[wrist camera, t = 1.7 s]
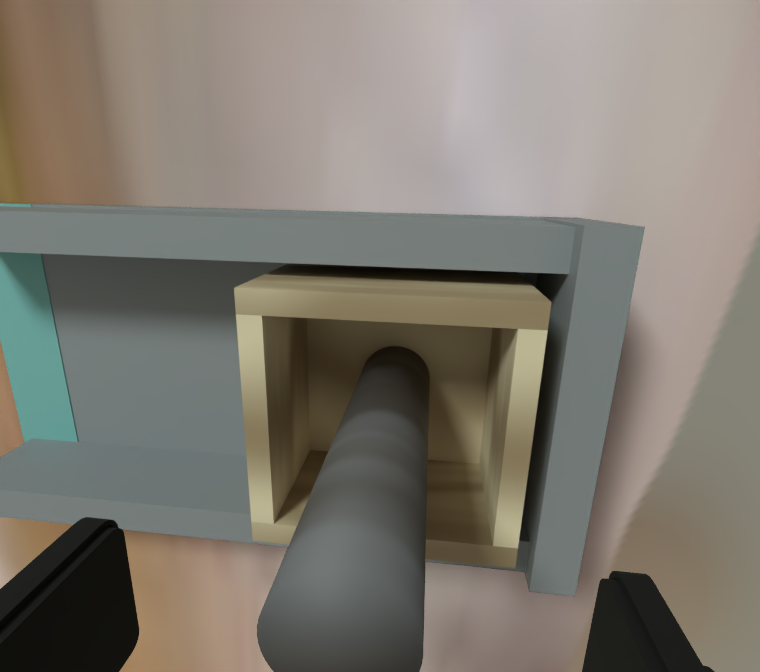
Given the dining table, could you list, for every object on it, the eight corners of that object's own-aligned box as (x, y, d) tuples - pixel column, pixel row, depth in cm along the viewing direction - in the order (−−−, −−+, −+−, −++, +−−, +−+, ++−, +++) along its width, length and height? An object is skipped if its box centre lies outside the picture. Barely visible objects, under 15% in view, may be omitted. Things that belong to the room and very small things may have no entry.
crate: (291, 262, 19) (35, 376, 7) (515, 270, 18) (686, 421, 6) (298, 454, 21) (124, 782, 9) (493, 471, 20) (578, 859, 8)
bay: (-6, 202, 21) (-172, 204, 15) (578, 217, 18) (644, 227, 12) (48, 450, 25) (-67, 526, 19) (538, 493, 22) (574, 596, 16)
